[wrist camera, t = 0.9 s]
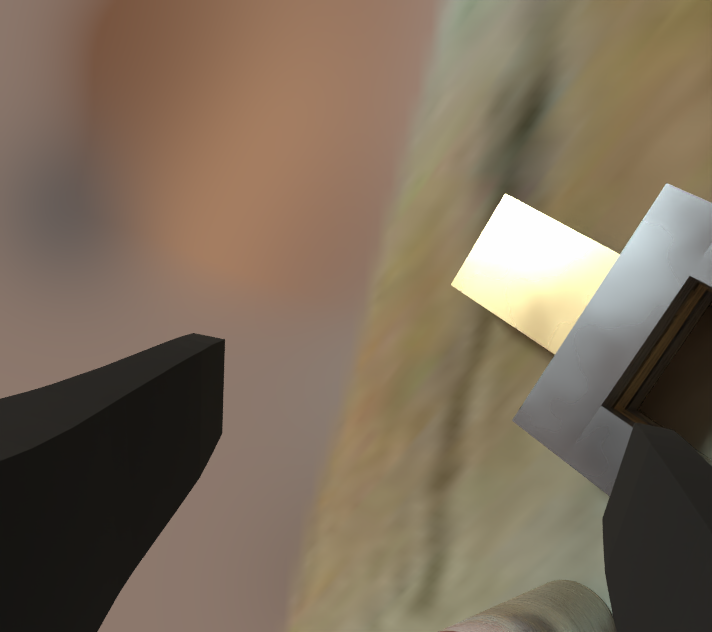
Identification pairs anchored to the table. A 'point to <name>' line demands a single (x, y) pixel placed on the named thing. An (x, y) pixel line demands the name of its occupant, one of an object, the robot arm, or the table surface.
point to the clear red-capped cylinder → (544, 612)
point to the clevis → (594, 317)
